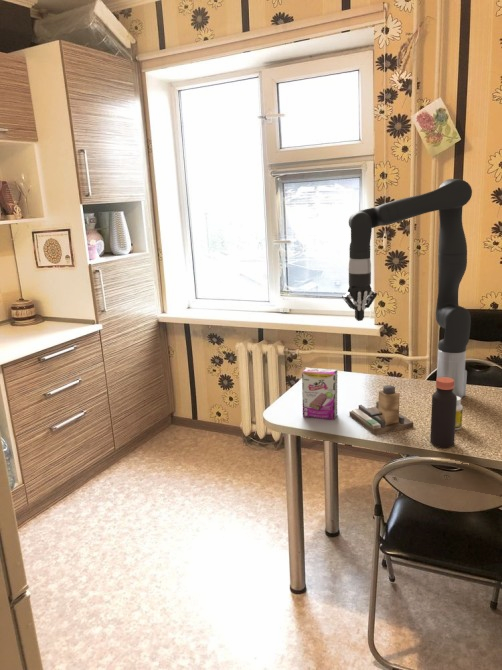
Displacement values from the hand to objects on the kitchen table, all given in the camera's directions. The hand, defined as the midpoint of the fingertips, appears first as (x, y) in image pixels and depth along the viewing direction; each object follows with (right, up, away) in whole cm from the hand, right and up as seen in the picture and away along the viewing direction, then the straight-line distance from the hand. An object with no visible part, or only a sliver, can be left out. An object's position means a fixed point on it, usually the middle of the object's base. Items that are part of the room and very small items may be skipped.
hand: (359, 320), depth 194 cm
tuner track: (+4, -33, -13) cm, 36 cm away
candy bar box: (-15, -33, -7) cm, 37 cm away
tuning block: (+4, -33, -18) cm, 38 cm away
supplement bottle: (+26, -34, -19) cm, 47 cm away
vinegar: (+19, -38, -30) cm, 51 cm away
